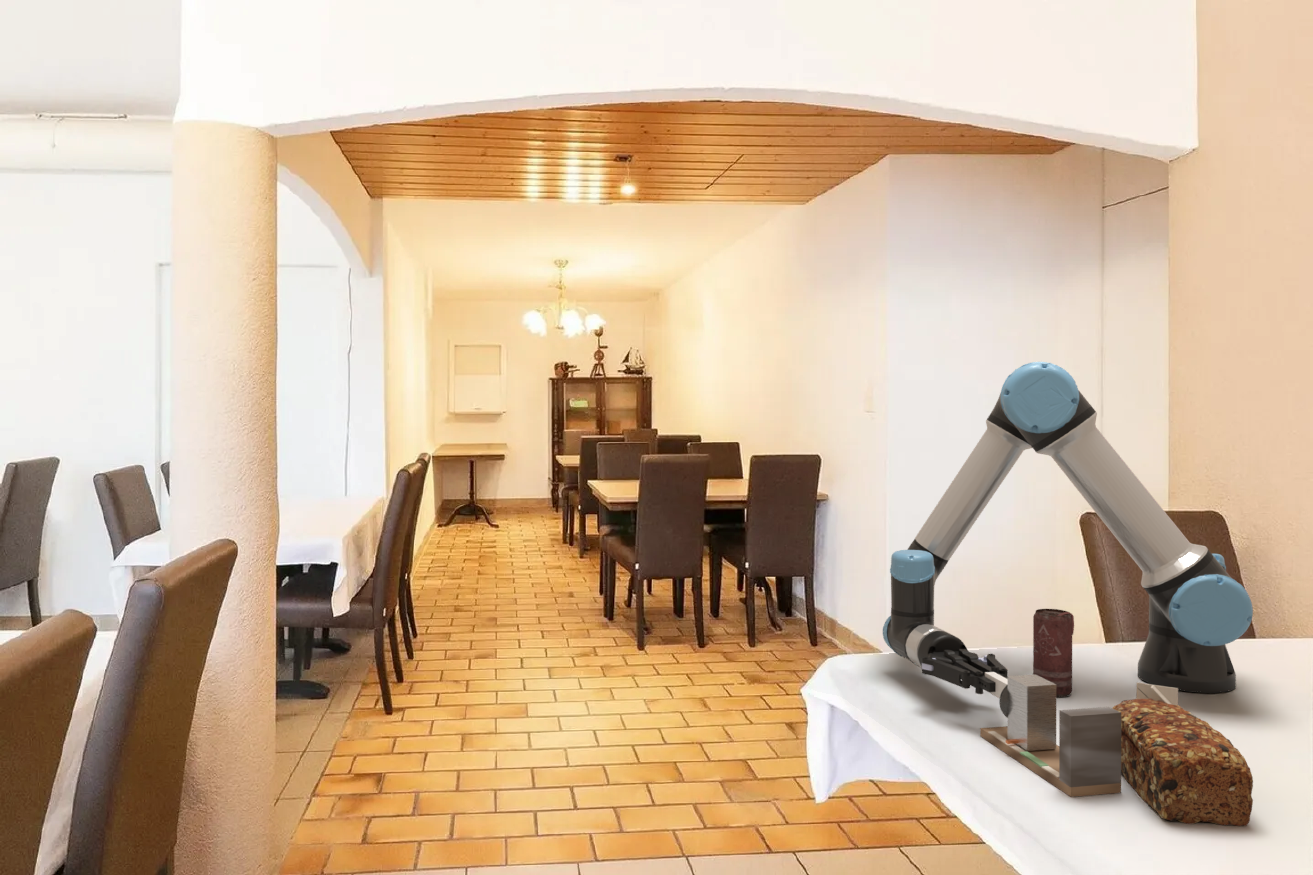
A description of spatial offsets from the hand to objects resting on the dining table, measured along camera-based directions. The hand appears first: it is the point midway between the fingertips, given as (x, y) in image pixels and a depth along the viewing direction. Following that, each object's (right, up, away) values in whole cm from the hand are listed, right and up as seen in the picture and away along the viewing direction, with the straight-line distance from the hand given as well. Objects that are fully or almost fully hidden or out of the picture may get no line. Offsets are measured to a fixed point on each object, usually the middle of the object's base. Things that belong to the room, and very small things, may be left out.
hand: (1012, 693), depth 133 cm
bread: (+14, -8, -17) cm, 24 cm away
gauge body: (+2, -8, -5) cm, 10 cm away
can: (+17, -7, +25) cm, 30 cm away
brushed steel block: (+1, -6, -3) cm, 7 cm away
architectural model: (+23, -8, +5) cm, 25 cm away
